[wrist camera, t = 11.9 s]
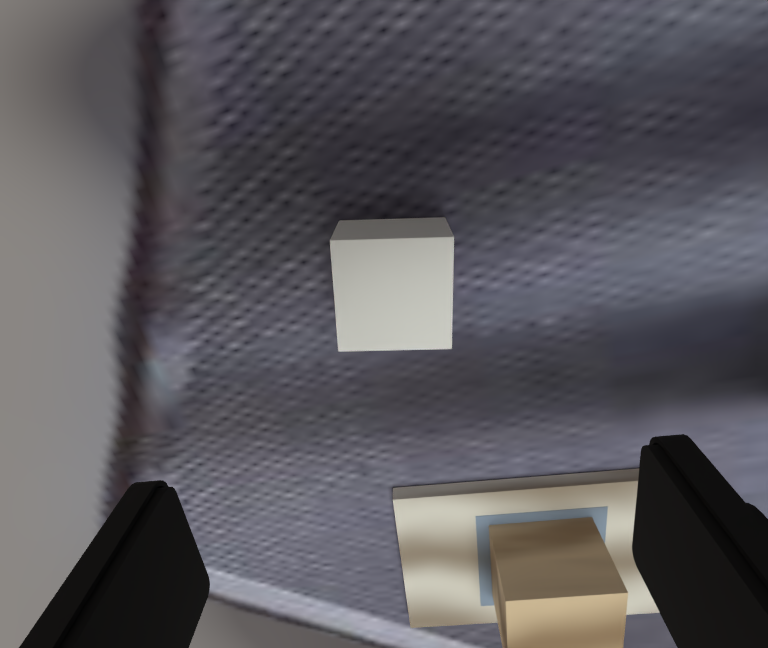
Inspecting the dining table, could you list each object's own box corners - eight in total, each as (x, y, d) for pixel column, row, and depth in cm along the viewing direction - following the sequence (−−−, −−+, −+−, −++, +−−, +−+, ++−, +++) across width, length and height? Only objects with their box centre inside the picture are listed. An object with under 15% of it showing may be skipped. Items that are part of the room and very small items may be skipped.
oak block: (488, 525, 30) (505, 601, 25) (591, 517, 30) (628, 592, 25) (492, 596, 32) (508, 677, 28) (588, 589, 32) (620, 670, 27)
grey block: (339, 220, 24) (329, 240, 20) (444, 216, 24) (454, 236, 20) (345, 316, 26) (338, 351, 22) (443, 314, 26) (451, 348, 22)
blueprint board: (392, 487, 30) (392, 500, 29) (685, 464, 29) (695, 477, 28) (410, 613, 35) (410, 628, 34) (665, 597, 34) (673, 612, 33)
